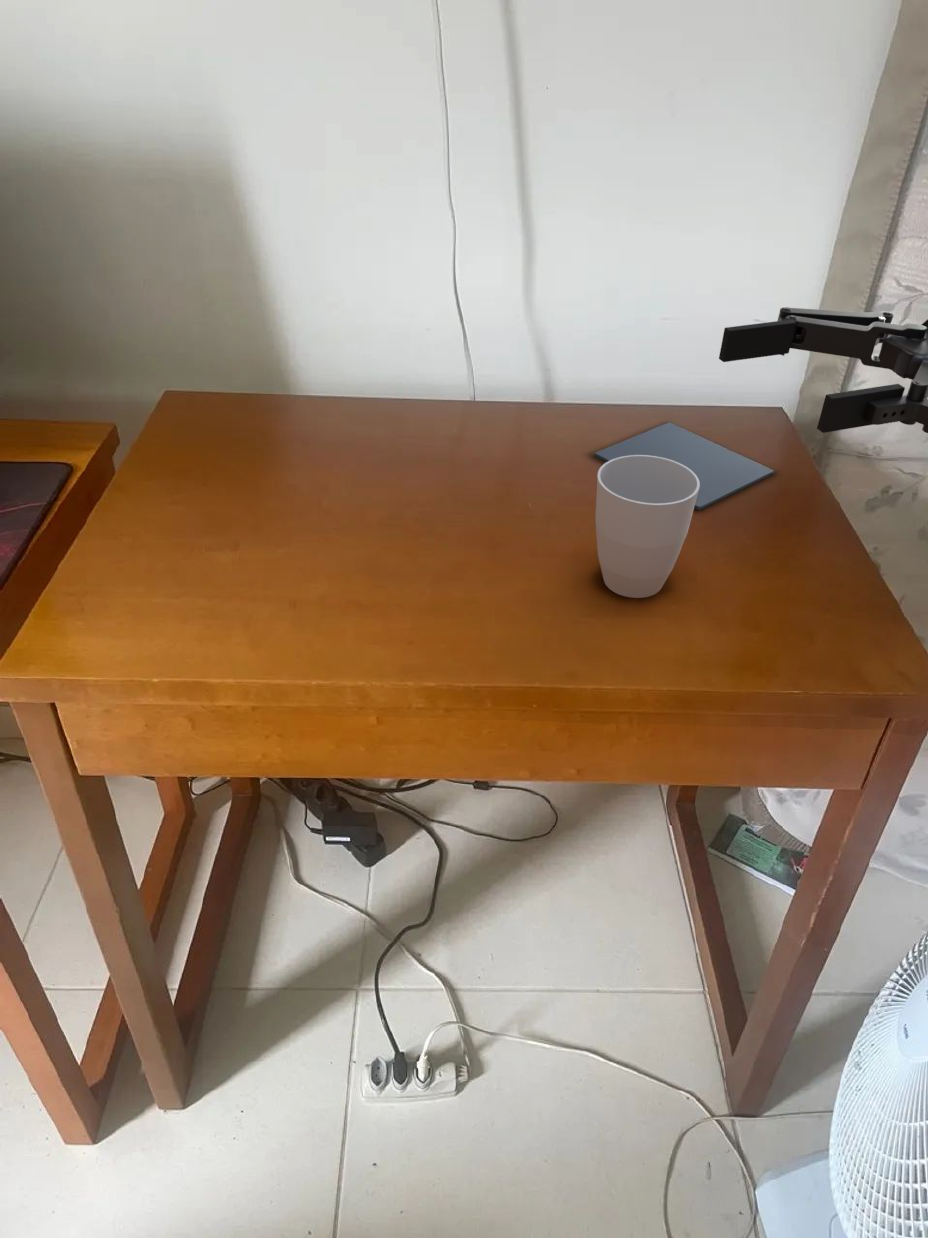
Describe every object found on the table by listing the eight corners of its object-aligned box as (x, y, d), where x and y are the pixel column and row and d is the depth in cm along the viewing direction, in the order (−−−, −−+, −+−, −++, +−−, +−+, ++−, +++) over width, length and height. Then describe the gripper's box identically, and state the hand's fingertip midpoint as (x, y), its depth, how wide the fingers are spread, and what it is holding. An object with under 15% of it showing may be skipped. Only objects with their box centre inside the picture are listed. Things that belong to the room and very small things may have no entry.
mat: (773, 473, 101) (774, 470, 100) (699, 510, 94) (699, 507, 94) (668, 425, 109) (669, 421, 109) (593, 456, 103) (594, 452, 103)
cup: (698, 597, 83) (719, 494, 77) (613, 617, 80) (628, 511, 74) (649, 548, 89) (665, 448, 83) (569, 565, 86) (580, 463, 80)
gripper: (1085, 453, 76) (860, 495, 70) (874, 335, 95) (682, 361, 89) (1127, 360, 72) (890, 398, 65) (897, 256, 90) (696, 278, 84)
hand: (770, 377), depth 77 cm, fingers open, 13 cm apart
